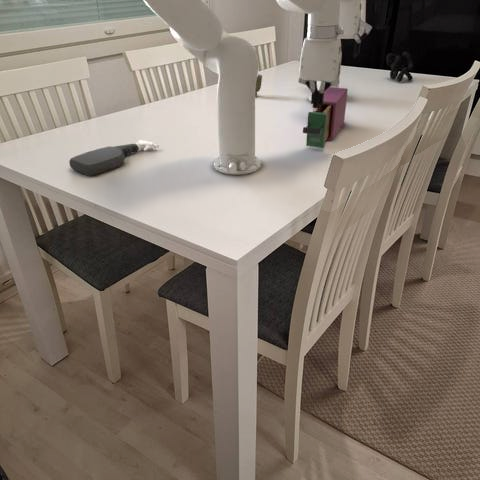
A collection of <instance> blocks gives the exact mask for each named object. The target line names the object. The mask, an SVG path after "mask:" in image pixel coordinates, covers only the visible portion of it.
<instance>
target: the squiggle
mask: <svg viewBox="0 0 480 480" xmlns="http://www.w3.org/2000/svg"><path fill="white" fill-rule="evenodd" d="M401 57H402V59H401ZM391 59H392V60H391ZM393 60H394V61H393ZM385 61H386V64H387V67H390V68H391V70H390V72H389V78H390V79H391V80H395V79H396V81H397V82H399V83H400V82H402V81H403V79H404V76H406V78H407V80H408V81H412V80H413V79H414V77H413V75H412V74H411V73H410V72H409V71H410V70H412V69H413V68H414V64H413V61H412V57H411V54H410V53H409V52H408V51H403V53H402V54H401V55H396V54H394V53H392V52H390V53H387V55H386V57H385ZM406 62H407V65H408V66H407V67H405V66H404V65H405V64H406ZM400 70H401V71H400Z"/></svg>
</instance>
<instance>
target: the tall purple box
mask: <svg viewBox="0 0 480 480" xmlns="http://www.w3.org/2000/svg"><path fill="white" fill-rule="evenodd" d="M348 90H349V89H348V88H347V87H338V88H333V87H329V88H328V89H327V90H325V91H324V100H323V104H329V105H333V114H332V124H331V134H330V135H329V136H328V138H327V139H326V141H333V140H334V139H335V138H336V136H337V134H338V133H339V131H340V130H341V129H342V127H343V126H344V124H345V116H346V110H347V109H346V108H347V98H348ZM314 109H315V108H313V110H314Z"/></svg>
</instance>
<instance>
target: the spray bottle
mask: <svg viewBox="0 0 480 480" xmlns="http://www.w3.org/2000/svg"><path fill="white" fill-rule="evenodd" d="M159 148H160V145H159V144H158V143H155V142H151V141H148V140H144V139H139V140H138V141H137V142H135V143H129V144H128V143H126V144H122V145H113V146H105V147H100V148H97V149H94V150H90V151H87V152H83V153H81V154H78V155H74V156H73V157H70V159H69V161H68V162H69V167H70V168H71V169H72V170H74V171H75V172H78V173H81V174H83V175H85V176H89V177H90V176H91V177H92V176H95V175H99V174H102V173H105V172H107V171H110V170H113V169H116V168H118V167H120V166H122V165H123V164H124V163H125V158H126V156H127V155H131V154H133V153H138V151H140V150H143V151H144V152H146V151H147V150H149V149H159Z"/></svg>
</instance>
